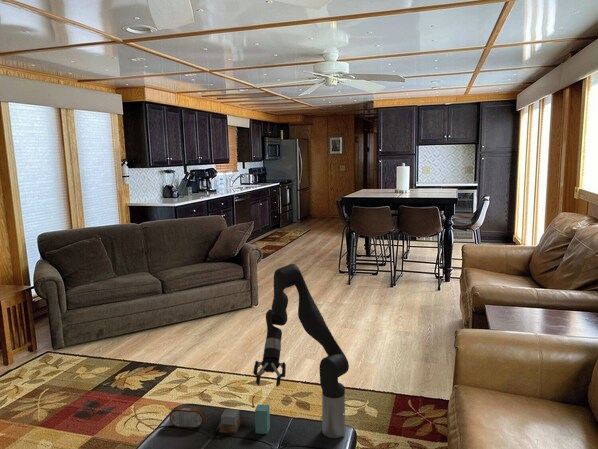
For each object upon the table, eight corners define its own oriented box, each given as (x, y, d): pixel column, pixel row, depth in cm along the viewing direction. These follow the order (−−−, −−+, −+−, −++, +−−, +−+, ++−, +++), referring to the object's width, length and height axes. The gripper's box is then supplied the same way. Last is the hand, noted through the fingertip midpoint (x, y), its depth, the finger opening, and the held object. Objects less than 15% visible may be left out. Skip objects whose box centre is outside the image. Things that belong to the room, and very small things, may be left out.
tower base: (240, 424, 196) (240, 416, 196) (236, 433, 189) (235, 425, 189) (224, 423, 197) (224, 415, 197) (219, 432, 190) (219, 424, 190)
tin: (205, 425, 195) (205, 406, 194) (203, 429, 192) (202, 410, 191) (171, 423, 197) (170, 405, 196) (169, 427, 194) (168, 409, 193)
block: (269, 427, 193) (269, 405, 192) (267, 434, 188) (266, 411, 187) (258, 426, 194) (257, 404, 193) (255, 433, 189) (255, 410, 188)
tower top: (239, 417, 195) (239, 409, 195) (235, 425, 189) (234, 417, 189) (226, 416, 196) (225, 408, 196) (221, 424, 190) (221, 416, 190)
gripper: (255, 346, 209) (250, 381, 199) (286, 347, 207) (282, 383, 197) (258, 352, 214) (253, 387, 205) (288, 354, 212) (284, 389, 203)
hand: (267, 385), depth 201 cm, fingers open, 8 cm apart
